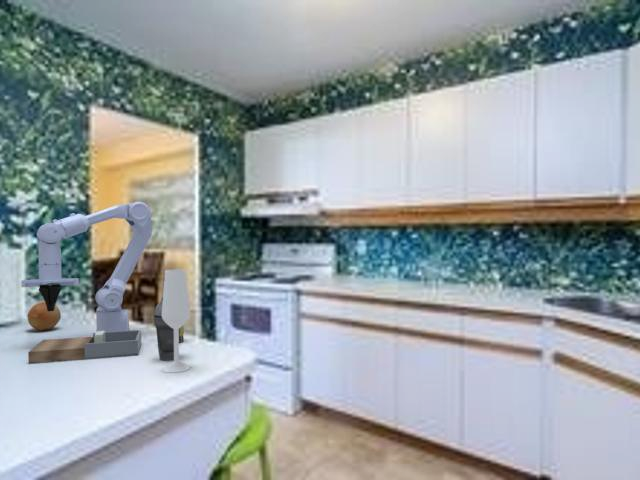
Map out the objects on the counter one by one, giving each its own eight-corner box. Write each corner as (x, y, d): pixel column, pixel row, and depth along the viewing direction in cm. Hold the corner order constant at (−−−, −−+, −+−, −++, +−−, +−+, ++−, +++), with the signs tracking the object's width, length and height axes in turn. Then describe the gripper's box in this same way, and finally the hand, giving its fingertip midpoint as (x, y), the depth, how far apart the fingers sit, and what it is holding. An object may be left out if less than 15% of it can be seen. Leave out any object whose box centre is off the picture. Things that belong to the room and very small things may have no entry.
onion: (29, 328, 163) (28, 300, 163) (62, 326, 167) (61, 298, 167) (25, 334, 154) (24, 303, 154) (59, 331, 158) (59, 301, 158)
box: (141, 343, 141) (141, 330, 141) (137, 355, 127) (137, 340, 127) (93, 346, 137) (93, 333, 137) (84, 359, 123) (84, 344, 123)
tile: (97, 348, 133) (105, 348, 133) (94, 353, 128) (102, 352, 128) (97, 331, 133) (105, 330, 133) (94, 335, 128) (102, 334, 128)
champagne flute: (161, 366, 117) (160, 269, 116) (189, 363, 119) (188, 268, 119) (162, 373, 111) (161, 271, 110) (192, 370, 113) (190, 270, 112)
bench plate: (93, 346, 137) (93, 336, 137) (84, 359, 123) (84, 347, 123) (43, 350, 133) (43, 339, 133) (28, 363, 120) (28, 352, 120)
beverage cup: (174, 362, 120) (173, 284, 119) (148, 361, 121) (147, 284, 121) (187, 355, 127) (186, 281, 126) (163, 354, 128) (162, 281, 128)
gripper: (17, 266, 132) (18, 314, 132) (74, 264, 136) (75, 311, 136) (25, 264, 138) (26, 310, 139) (79, 263, 143) (80, 307, 143)
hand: (51, 310), depth 138 cm, fingers closed
